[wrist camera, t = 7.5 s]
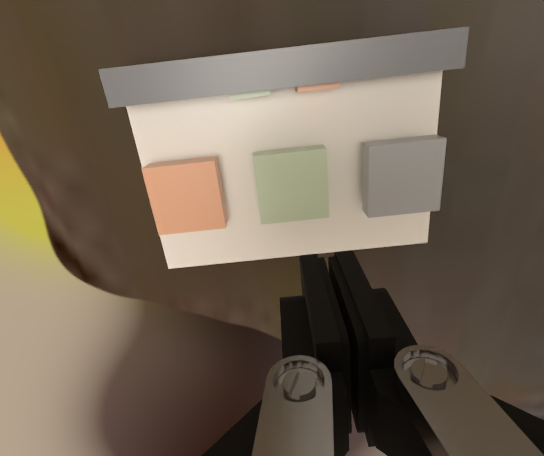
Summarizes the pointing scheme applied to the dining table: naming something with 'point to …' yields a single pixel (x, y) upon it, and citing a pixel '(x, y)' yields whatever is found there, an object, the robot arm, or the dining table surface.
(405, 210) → the grey key
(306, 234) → the keypad
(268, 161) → the sage key
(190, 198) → the terracotta key
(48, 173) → the dining table surface
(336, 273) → the robot arm
